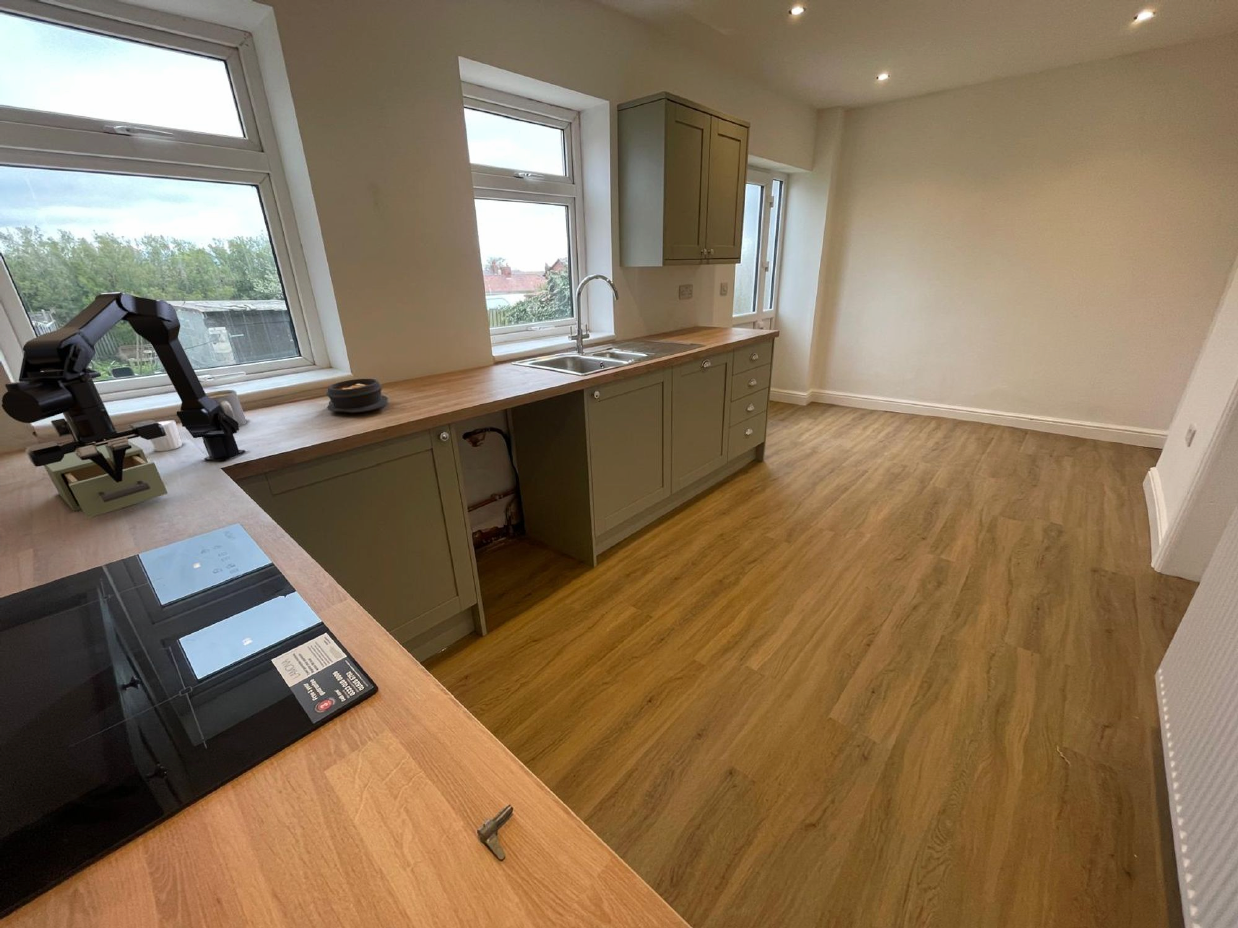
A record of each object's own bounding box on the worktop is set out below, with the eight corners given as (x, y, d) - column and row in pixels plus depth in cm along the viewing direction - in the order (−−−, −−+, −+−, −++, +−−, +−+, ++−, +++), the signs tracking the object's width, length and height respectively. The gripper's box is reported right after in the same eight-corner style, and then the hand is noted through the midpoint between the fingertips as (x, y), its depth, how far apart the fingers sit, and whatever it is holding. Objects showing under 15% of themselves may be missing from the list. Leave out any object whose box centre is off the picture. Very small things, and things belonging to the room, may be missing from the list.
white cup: (149, 453, 136) (138, 429, 133) (157, 446, 141) (147, 422, 138) (181, 448, 138) (171, 424, 136) (187, 441, 144) (177, 418, 141)
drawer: (175, 498, 106) (161, 467, 103) (92, 524, 97) (74, 491, 94) (148, 479, 117) (134, 450, 114) (71, 501, 107) (54, 470, 104)
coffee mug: (207, 425, 158) (195, 394, 154) (245, 418, 163) (234, 388, 160) (209, 435, 148) (196, 402, 144) (249, 427, 154) (237, 395, 150)
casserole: (403, 407, 166) (398, 383, 163) (345, 422, 154) (338, 396, 151) (371, 396, 182) (366, 373, 179) (316, 408, 170) (309, 384, 166)
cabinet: (158, 485, 115) (142, 449, 112) (74, 511, 105) (52, 471, 101) (139, 471, 124) (123, 437, 120) (59, 494, 113) (39, 457, 110)
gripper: (134, 389, 105) (164, 458, 112) (2, 413, 92) (45, 490, 98) (150, 396, 99) (181, 468, 105) (11, 423, 85) (56, 504, 92)
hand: (119, 481), depth 100 cm, fingers closed
